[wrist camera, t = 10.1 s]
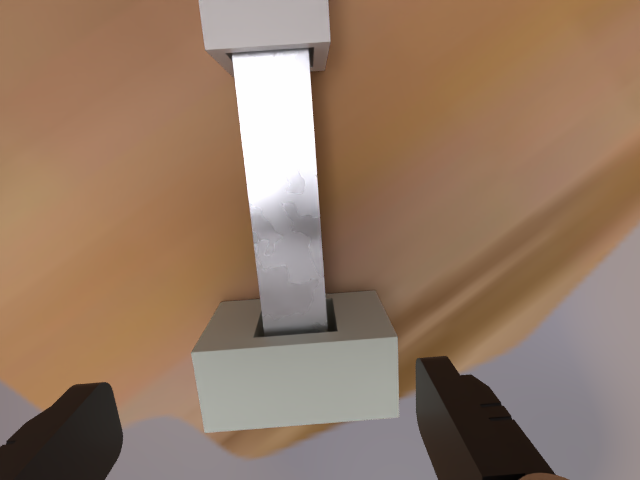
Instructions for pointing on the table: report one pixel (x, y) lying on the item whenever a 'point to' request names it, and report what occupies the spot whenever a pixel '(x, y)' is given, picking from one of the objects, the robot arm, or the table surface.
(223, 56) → the grey sleeve
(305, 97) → the steel tube
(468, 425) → the robot arm
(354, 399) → the socket block
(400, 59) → the table surface
